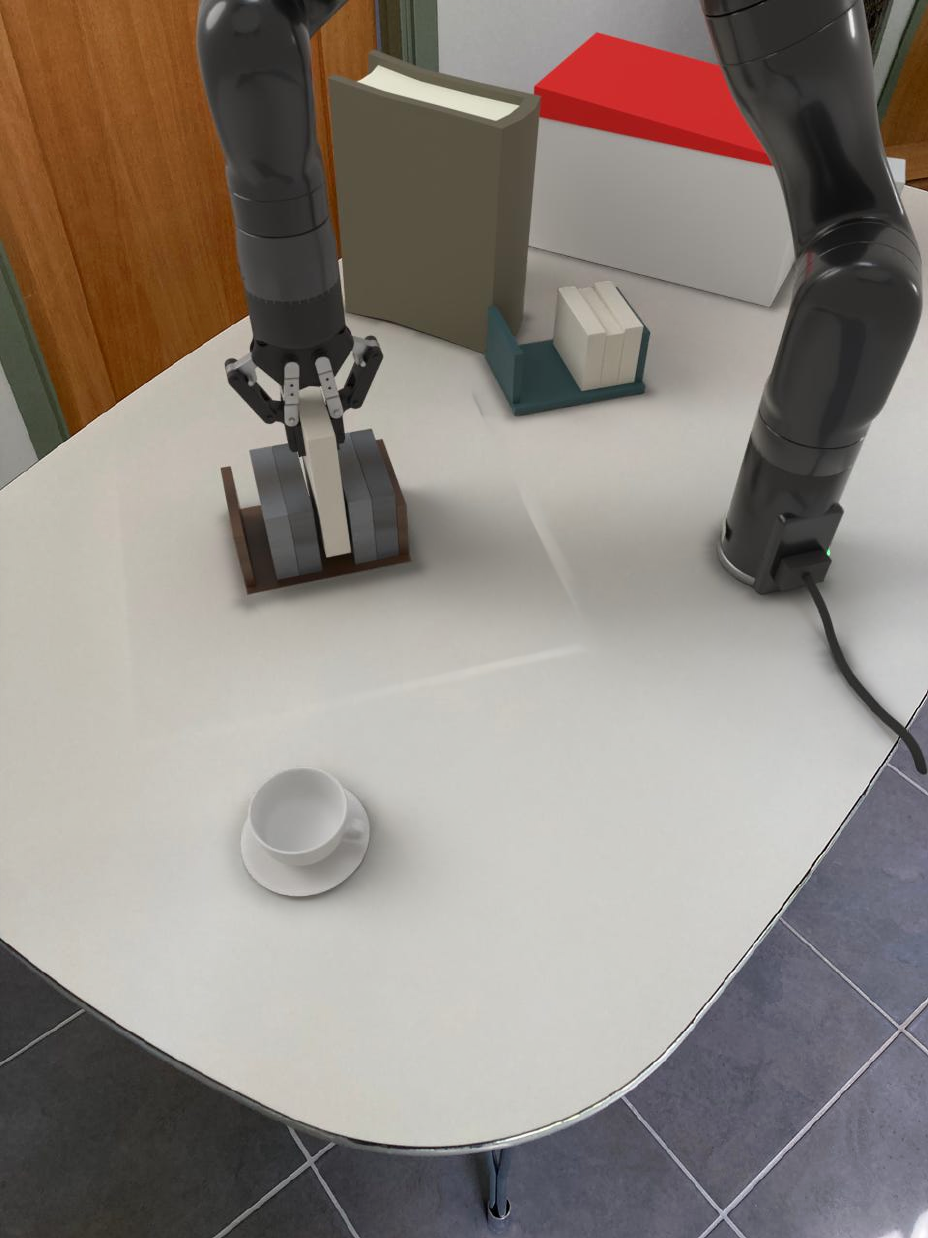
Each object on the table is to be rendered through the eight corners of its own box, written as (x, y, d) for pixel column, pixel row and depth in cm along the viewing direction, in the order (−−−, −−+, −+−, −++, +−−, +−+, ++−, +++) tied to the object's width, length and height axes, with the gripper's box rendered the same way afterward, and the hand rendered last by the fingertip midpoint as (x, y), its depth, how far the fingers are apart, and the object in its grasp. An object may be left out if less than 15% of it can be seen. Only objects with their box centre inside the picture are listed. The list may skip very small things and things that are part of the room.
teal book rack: (644, 392, 112) (655, 329, 106) (514, 416, 109) (517, 352, 103) (606, 336, 119) (615, 274, 113) (484, 357, 117) (485, 293, 110)
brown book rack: (412, 568, 94) (408, 499, 87) (248, 601, 91) (231, 533, 84) (385, 488, 101) (379, 420, 94) (233, 517, 98) (215, 448, 91)
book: (527, 324, 122) (548, 91, 101) (494, 361, 117) (509, 124, 95) (383, 277, 128) (373, 49, 107) (345, 311, 123) (328, 77, 102)
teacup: (223, 886, 72) (211, 858, 68) (265, 774, 78) (255, 742, 75) (352, 909, 71) (346, 881, 67) (383, 793, 77) (379, 762, 74)
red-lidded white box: (580, 183, 146) (594, 31, 130) (808, 236, 136) (854, 78, 120) (523, 244, 134) (532, 85, 118) (769, 307, 124) (814, 142, 108)
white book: (351, 552, 91) (335, 435, 80) (326, 557, 90) (307, 440, 80) (331, 485, 97) (313, 368, 86) (307, 489, 97) (287, 372, 86)
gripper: (204, 311, 70) (246, 489, 83) (389, 282, 73) (402, 459, 86) (194, 261, 75) (235, 436, 88) (368, 235, 77) (383, 410, 90)
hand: (317, 447), depth 87 cm, fingers closed on white book, 2 cm apart
